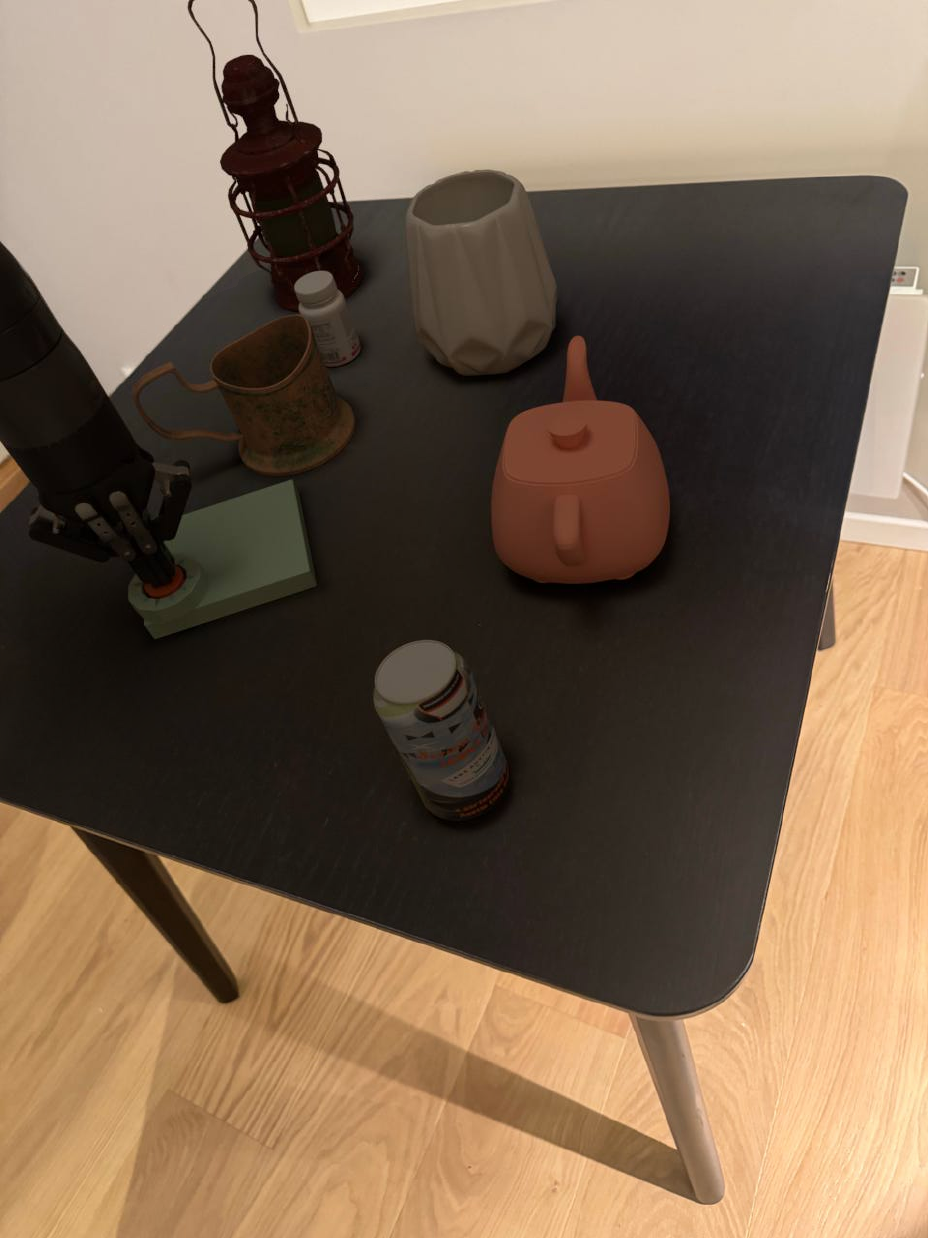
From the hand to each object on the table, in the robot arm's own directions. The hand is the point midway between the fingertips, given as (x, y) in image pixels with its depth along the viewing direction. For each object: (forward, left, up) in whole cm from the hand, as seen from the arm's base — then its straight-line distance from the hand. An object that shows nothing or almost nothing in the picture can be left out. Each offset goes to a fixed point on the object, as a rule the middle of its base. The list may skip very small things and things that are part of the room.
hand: (163, 578), depth 75 cm
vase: (+33, +22, -4) cm, 40 cm away
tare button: (0, 0, -2) cm, 2 cm away
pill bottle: (+18, +29, -4) cm, 35 cm away
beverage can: (+18, -25, -4) cm, 31 cm away
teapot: (+33, -7, -4) cm, 34 cm away
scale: (+4, +3, -4) cm, 7 cm away
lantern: (+18, +44, -4) cm, 48 cm away
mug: (+9, +17, -4) cm, 20 cm away
